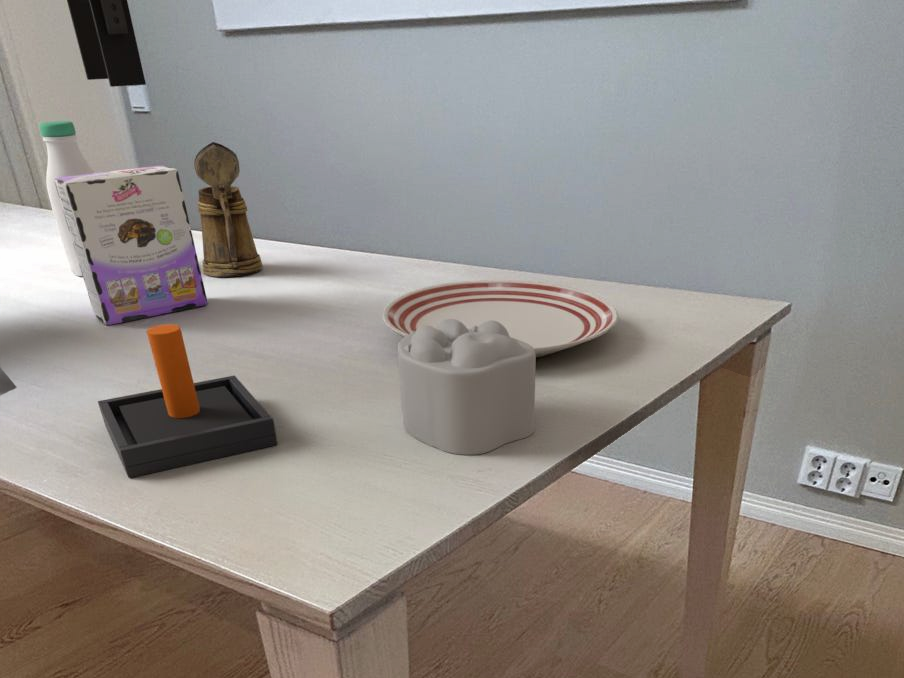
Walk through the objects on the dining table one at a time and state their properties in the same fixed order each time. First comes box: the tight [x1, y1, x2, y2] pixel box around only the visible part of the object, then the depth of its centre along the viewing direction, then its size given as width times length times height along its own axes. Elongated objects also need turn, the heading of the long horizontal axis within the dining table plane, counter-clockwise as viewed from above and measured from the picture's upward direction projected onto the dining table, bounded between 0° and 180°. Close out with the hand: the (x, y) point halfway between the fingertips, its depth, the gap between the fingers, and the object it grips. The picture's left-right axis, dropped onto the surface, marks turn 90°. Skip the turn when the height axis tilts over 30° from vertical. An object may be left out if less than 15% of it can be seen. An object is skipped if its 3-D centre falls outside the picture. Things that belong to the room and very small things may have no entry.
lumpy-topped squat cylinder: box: [397, 319, 537, 456], centre depth 75 cm, size 10×13×9 cm
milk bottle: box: [38, 120, 95, 277], centre depth 123 cm, size 8×8×20 cm
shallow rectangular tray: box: [97, 375, 279, 479], centre depth 76 cm, size 13×13×2 cm
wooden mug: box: [194, 141, 264, 278], centre depth 120 cm, size 9×14×18 cm, turn 19°
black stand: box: [119, 323, 253, 444], centre depth 74 cm, size 10×10×9 cm
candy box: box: [54, 164, 209, 326], centre depth 105 cm, size 14×6×16 cm, turn 126°
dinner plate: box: [382, 279, 619, 358], centre depth 97 cm, size 28×27×3 cm
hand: (115, 82), depth 72 cm, fingers open, 13 cm apart
